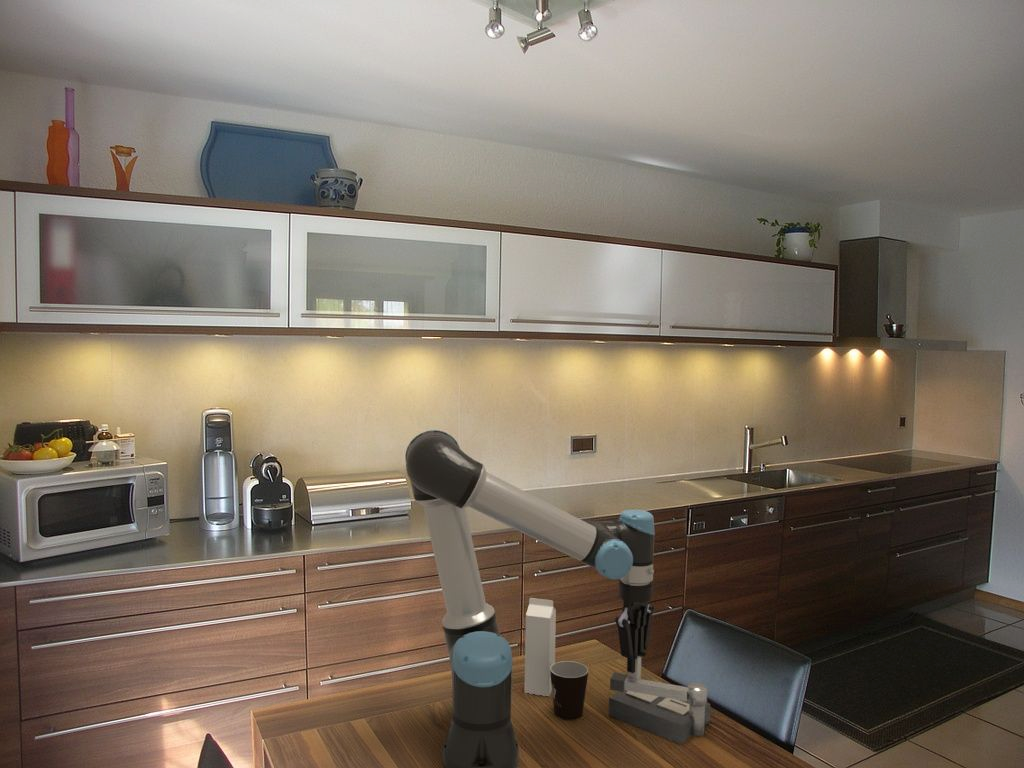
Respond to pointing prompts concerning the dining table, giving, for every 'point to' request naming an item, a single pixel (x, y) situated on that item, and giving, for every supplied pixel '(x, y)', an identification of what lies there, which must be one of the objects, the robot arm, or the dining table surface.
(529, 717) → the dining table surface
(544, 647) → the milk
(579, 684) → the coffee mug
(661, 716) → the grey slotted block
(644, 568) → the robot arm
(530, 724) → the dining table surface
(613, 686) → the lever
